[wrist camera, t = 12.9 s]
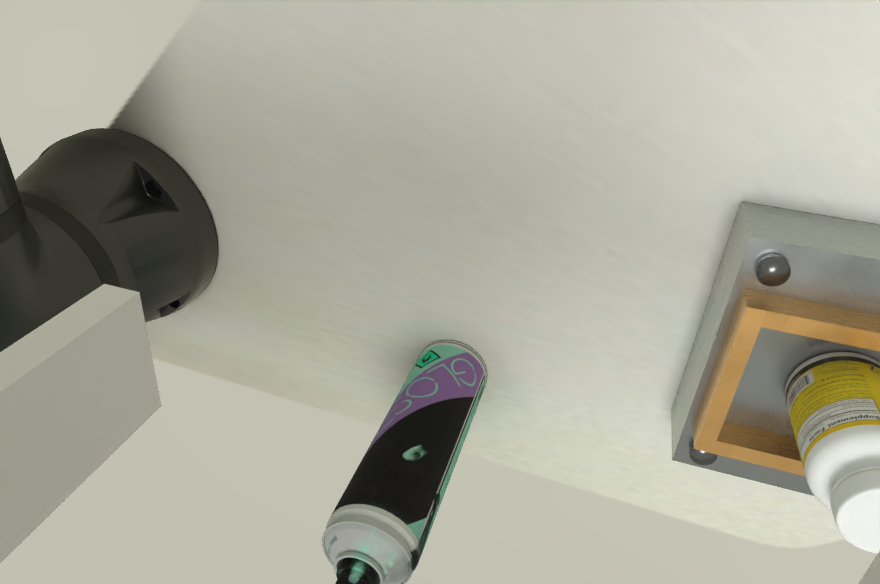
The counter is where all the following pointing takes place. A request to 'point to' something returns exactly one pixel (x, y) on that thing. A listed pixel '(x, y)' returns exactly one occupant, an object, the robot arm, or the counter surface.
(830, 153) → the counter surface
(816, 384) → the supplement bottle
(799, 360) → the mold
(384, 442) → the spray can
